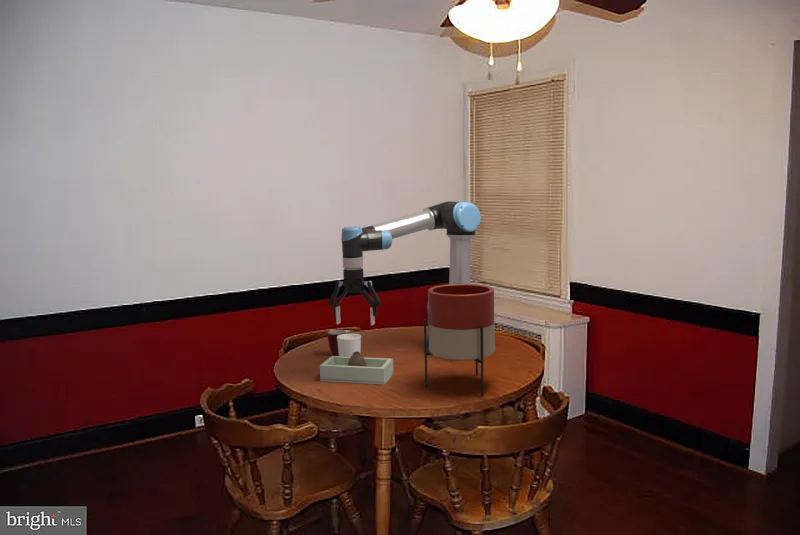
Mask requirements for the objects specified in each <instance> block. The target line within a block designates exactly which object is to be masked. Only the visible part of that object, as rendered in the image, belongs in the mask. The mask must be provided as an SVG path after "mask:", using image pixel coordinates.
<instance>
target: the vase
mask: <svg viewBox="0 0 800 535" xmlns="http://www.w3.org/2000/svg"><path fill="white" fill-rule="evenodd" d="M363 357H364V356H362V353H361V354H360V352H353V355H352V356H351V358H350V359H349V362H348V366H363V367H366V362H365V359H364V358H365V357H364V358H363Z"/></svg>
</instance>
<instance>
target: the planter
mask: <svg viewBox="0 0 800 535" xmlns="http://www.w3.org/2000/svg"><path fill="white" fill-rule="evenodd" d="M427 299H428V300H427V306H428V309H427V312H428V311H429V351H430V353H427V340H426V339H427V320H426V319H423V338H424V339H423V342H424V344H423V346H424V349H423V350H424V386H425V387H428V356H435V357H437V358H440V359H444V360H452V361H475V376H476V377H477V376H478V375H479V363H480V396H481V397H484V395H485V394H484V392H485V391H484V389H485V388H484V384H485V383H484V379H485V378H484V358H487V357H490V356H491V355H492V354H494V352H495V351H496V349H495V348H496V345H495V289H494V288H493V287H492V286H490V285H489V286H488V285H483V284H477V283H476V284H475V283H470V284H441V285H436V286H432V287H430V288H428V290H427Z"/></svg>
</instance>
